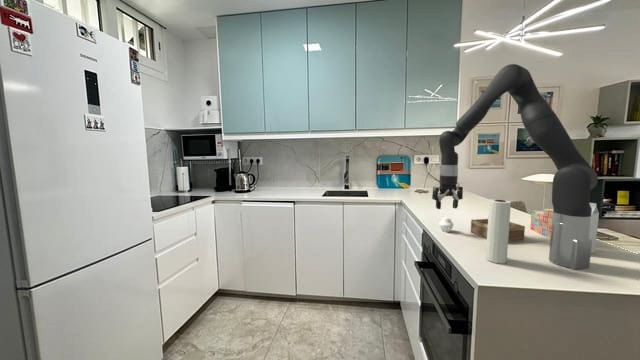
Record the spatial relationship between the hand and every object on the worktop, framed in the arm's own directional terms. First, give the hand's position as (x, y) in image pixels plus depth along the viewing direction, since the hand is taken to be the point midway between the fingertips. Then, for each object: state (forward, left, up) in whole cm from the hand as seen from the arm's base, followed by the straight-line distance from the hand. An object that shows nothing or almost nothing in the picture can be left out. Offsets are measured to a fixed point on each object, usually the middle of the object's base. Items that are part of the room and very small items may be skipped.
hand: (446, 208), depth 125 cm
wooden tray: (-11, -17, -11) cm, 23 cm away
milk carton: (-32, -33, -11) cm, 47 cm away
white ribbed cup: (0, 0, -11) cm, 11 cm away
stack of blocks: (-16, -41, -11) cm, 45 cm away
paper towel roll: (-33, +4, -11) cm, 35 cm away
